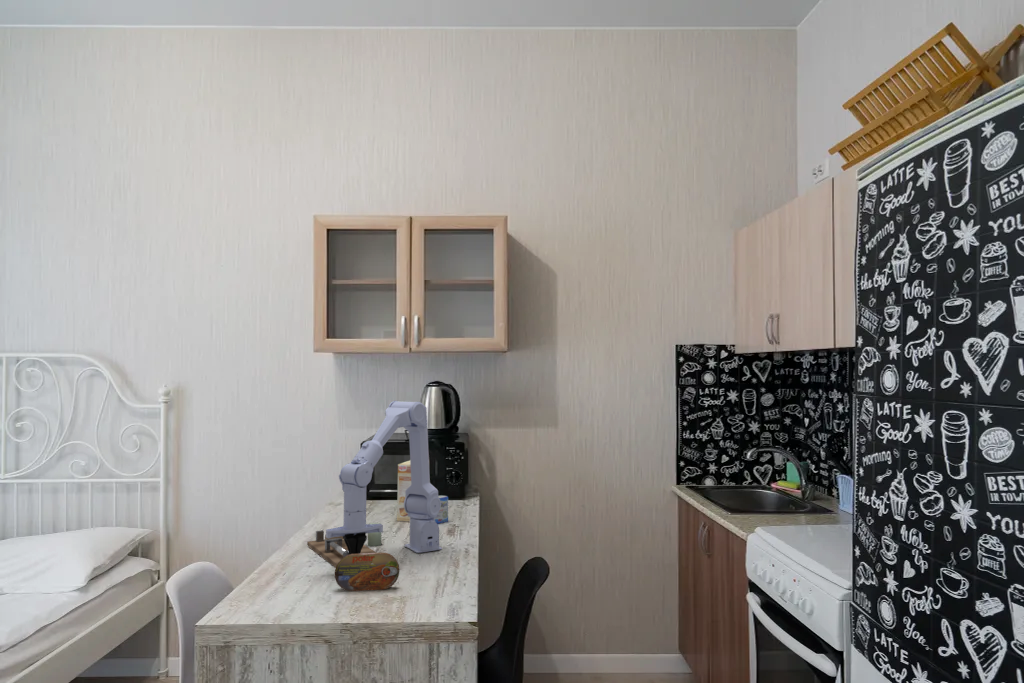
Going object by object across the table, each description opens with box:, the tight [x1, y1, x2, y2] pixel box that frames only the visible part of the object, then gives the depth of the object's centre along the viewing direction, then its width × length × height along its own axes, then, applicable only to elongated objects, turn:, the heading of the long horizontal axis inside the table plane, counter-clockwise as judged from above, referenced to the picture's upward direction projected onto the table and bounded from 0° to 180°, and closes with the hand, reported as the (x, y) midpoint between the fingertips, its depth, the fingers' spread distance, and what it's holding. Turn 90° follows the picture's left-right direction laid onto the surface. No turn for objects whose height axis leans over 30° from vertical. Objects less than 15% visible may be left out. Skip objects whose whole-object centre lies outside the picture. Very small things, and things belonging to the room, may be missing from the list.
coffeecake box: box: [396, 459, 411, 523], centre depth 246 cm, size 15×7×20 cm, turn 168°
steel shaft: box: [330, 542, 349, 558], centre depth 190 cm, size 16×3×3 cm, turn 32°
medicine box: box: [434, 495, 449, 525], centre depth 237 cm, size 8×4×9 cm, turn 143°
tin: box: [334, 552, 400, 592], centre depth 166 cm, size 15×3×8 cm, turn 98°
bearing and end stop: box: [315, 529, 342, 553], centre depth 200 cm, size 14×4×3 cm, turn 32°
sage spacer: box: [367, 522, 382, 547], centre depth 207 cm, size 4×4×6 cm
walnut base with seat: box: [306, 534, 378, 568], centre depth 197 cm, size 29×13×3 cm, turn 32°
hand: (354, 563), depth 180 cm, fingers closed
